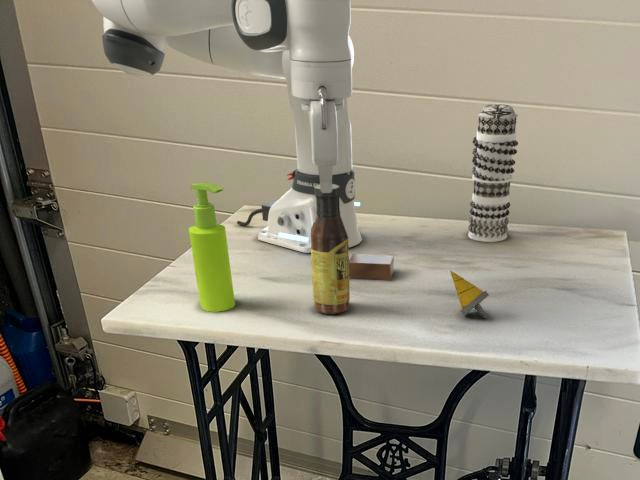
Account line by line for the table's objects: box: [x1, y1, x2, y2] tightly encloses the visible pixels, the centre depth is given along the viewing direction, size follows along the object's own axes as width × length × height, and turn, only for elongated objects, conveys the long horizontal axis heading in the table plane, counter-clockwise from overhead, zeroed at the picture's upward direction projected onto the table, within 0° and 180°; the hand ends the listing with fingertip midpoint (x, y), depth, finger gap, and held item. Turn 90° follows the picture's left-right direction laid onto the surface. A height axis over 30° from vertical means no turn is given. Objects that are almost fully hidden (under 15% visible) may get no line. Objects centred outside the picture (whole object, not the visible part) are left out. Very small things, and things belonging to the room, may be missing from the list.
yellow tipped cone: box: [450, 270, 490, 319], centre depth 122 cm, size 5×5×10 cm
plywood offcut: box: [349, 253, 395, 281], centre depth 139 cm, size 8×5×3 cm, turn 83°
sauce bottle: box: [310, 184, 351, 315], centre depth 120 cm, size 7×6×20 cm
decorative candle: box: [467, 103, 519, 243], centre depth 151 cm, size 9×9×25 cm
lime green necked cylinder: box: [188, 181, 236, 313], centre depth 121 cm, size 6×7×20 cm
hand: (325, 184), depth 114 cm, fingers open, 8 cm apart
